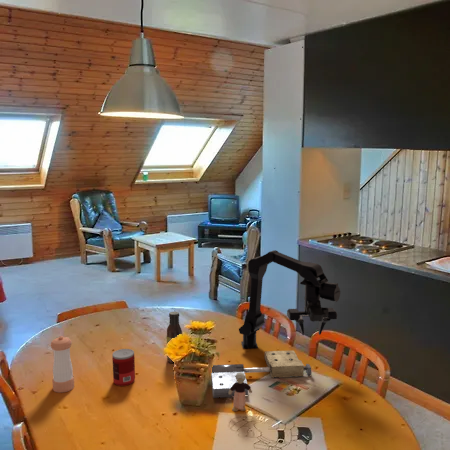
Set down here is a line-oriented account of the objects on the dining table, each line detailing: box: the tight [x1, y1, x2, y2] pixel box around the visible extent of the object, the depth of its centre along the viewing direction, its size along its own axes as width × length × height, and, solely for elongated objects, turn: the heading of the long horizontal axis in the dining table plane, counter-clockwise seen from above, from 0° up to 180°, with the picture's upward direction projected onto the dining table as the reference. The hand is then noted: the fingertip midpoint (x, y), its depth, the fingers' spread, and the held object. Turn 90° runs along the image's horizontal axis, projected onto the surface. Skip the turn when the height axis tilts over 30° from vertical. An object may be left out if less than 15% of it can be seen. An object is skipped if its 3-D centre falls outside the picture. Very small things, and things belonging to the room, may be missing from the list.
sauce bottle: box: [166, 310, 183, 364], centre depth 188 cm, size 7×6×20 cm
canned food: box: [111, 348, 136, 387], centre depth 172 cm, size 8×8×11 cm
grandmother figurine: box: [228, 372, 253, 412], centre depth 153 cm, size 8×4×13 cm, turn 106°
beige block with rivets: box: [264, 350, 305, 379], centre depth 183 cm, size 16×12×4 cm
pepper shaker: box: [50, 335, 75, 393], centre depth 167 cm, size 7×7×19 cm
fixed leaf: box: [210, 363, 312, 399], centre depth 170 cm, size 16×37×5 cm, turn 95°
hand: (311, 334), depth 185 cm, fingers open, 6 cm apart
